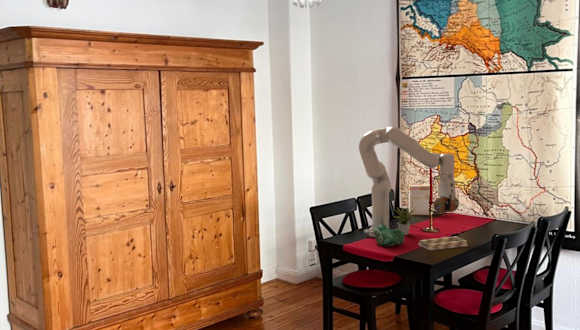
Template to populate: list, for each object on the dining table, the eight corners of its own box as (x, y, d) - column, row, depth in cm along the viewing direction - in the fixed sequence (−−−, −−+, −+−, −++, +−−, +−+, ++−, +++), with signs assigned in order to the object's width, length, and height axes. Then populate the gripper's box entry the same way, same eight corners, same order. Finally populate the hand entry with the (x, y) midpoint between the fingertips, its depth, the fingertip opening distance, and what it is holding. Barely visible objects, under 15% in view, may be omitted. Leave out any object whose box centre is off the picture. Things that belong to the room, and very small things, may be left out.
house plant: (417, 237, 332) (417, 209, 330) (392, 237, 335) (392, 208, 333) (417, 231, 346) (417, 204, 344) (392, 230, 349) (393, 203, 347)
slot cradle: (430, 250, 307) (430, 245, 307) (418, 244, 319) (418, 239, 318) (468, 245, 315) (468, 241, 314) (454, 240, 326) (455, 235, 325)
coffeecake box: (431, 212, 396) (431, 184, 393) (432, 215, 389) (433, 185, 386) (408, 212, 397) (408, 184, 394) (409, 215, 390) (409, 185, 387)
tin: (435, 213, 323) (436, 198, 321) (432, 212, 326) (432, 197, 324) (458, 211, 328) (459, 196, 326) (455, 209, 331) (456, 195, 329)
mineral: (365, 245, 320) (366, 226, 318) (381, 239, 331) (381, 221, 330) (395, 250, 308) (396, 232, 306) (411, 244, 320) (411, 226, 318)
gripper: (461, 178, 318) (460, 211, 320) (444, 173, 333) (443, 206, 335) (449, 179, 315) (448, 213, 318) (432, 174, 330) (431, 207, 333)
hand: (445, 209), depth 326 cm, fingers closed on tin, 2 cm apart
